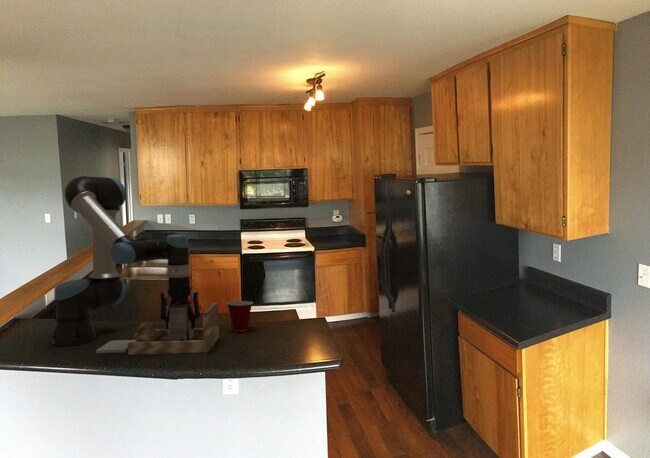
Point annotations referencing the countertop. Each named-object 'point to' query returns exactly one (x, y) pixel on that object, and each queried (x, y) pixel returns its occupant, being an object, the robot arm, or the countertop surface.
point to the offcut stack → (146, 333)
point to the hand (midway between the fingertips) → (181, 337)
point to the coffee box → (179, 321)
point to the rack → (190, 346)
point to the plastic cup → (239, 314)
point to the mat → (115, 346)
